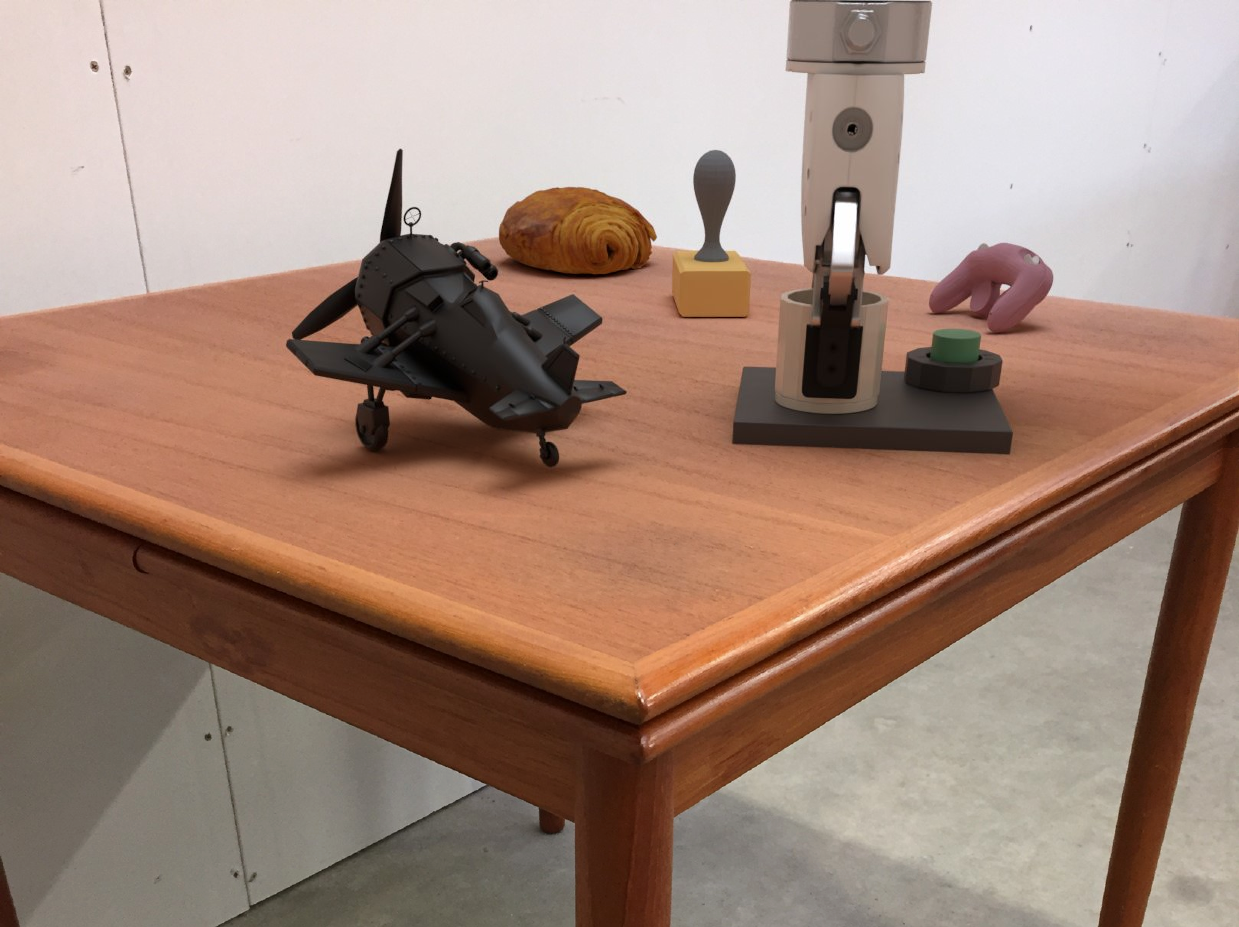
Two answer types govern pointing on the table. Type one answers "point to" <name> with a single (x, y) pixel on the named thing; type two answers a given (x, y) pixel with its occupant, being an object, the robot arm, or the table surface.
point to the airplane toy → (451, 338)
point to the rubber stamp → (712, 250)
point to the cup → (792, 351)
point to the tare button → (955, 345)
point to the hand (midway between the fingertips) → (828, 379)
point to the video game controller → (995, 284)
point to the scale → (888, 411)
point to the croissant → (576, 232)
